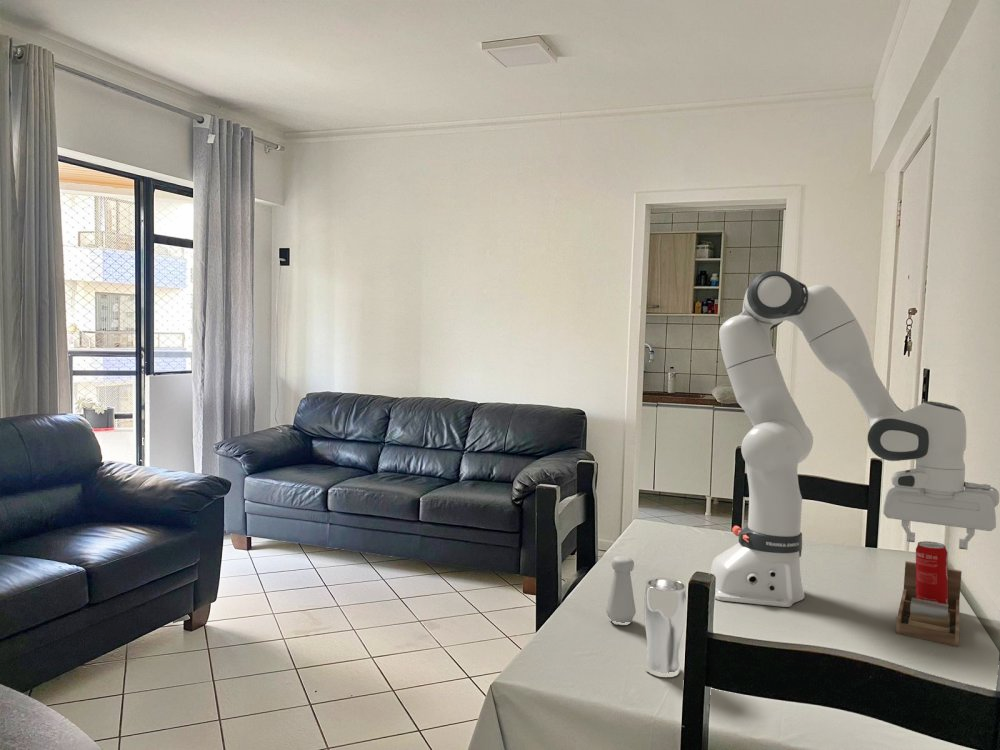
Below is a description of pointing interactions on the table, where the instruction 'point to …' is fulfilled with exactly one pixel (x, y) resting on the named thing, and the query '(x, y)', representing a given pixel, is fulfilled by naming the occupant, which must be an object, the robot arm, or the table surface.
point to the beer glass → (664, 622)
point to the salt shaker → (621, 591)
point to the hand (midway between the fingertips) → (936, 545)
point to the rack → (910, 593)
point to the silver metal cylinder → (929, 615)
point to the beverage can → (932, 572)
